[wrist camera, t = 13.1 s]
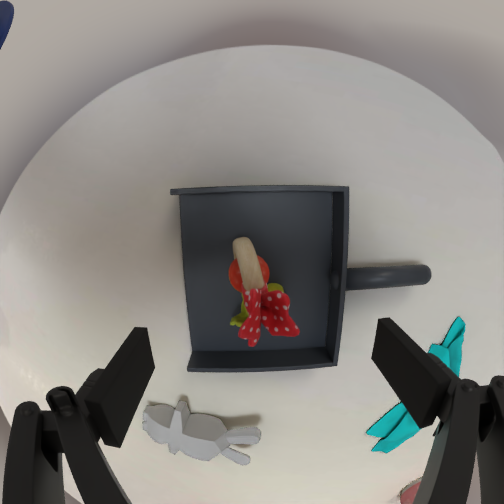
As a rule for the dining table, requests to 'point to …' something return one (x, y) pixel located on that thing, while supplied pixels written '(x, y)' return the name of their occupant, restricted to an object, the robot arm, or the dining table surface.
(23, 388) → the dining table surface
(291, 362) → the scoop
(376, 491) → the dining table surface
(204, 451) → the bunny figurine
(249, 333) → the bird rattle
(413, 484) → the container
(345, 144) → the dining table surface
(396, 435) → the cloth
